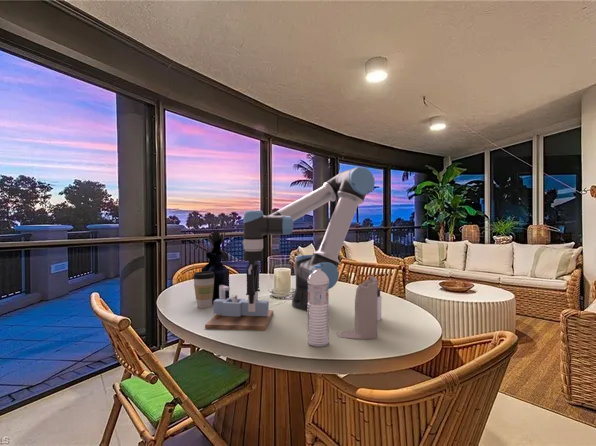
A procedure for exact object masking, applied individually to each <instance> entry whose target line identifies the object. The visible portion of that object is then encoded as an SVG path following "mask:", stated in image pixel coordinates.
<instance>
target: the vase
mask: <svg viewBox="0 0 596 446" xmlns="http://www.w3.org/2000/svg"><path fill="white" fill-rule="evenodd" d="M211 229H212V231H213V232H211V233H209V235H207V240H208V243H209V244H210V246H211V247H210V249H209V250H211V251H210V252H205V254H206V256H205V257H206V258H205V259H208V263H206V265H204V266H203V267H201V272H204V271H210V272H214V275H215V278H214V289H213V298H212V303H214V300H216V299H219V286H220V285H225V286H228V287H230V269H229V268H228V267H227V266H225V265H224V264H223V263H222V259H223V261H224V262H225V263H227V261H229V255H228V253H227V251H225V250H223V249H222V247H221V245H222V243H223V242H224V241H225V238H226V233H225V231H223V232H221V233H220V232H219V231H218V227H216V228H215V229H216V230H217V231H216V230H215V229H214V228H213V227H211ZM227 298H230V290H228V291H225V299H227Z"/></svg>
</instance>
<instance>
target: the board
mask: <svg viewBox="0 0 596 446" xmlns="http://www.w3.org/2000/svg"><path fill="white" fill-rule="evenodd" d="M273 316H274V310H271V309H268V315H267V316H250V315H241V316H240V317H239V316H236V317H232V316H222V314H214V316H213V317H211V318H210V319H209V320H208V321H207V322H206V323H205V324H204V329H205V330H206V329H207V330H209V329H210V330H244V331H245V330H247V331H248V330H249V331H266V329H267V327H268V325H269V323H270V321H271V319H272V317H273Z"/></svg>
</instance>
